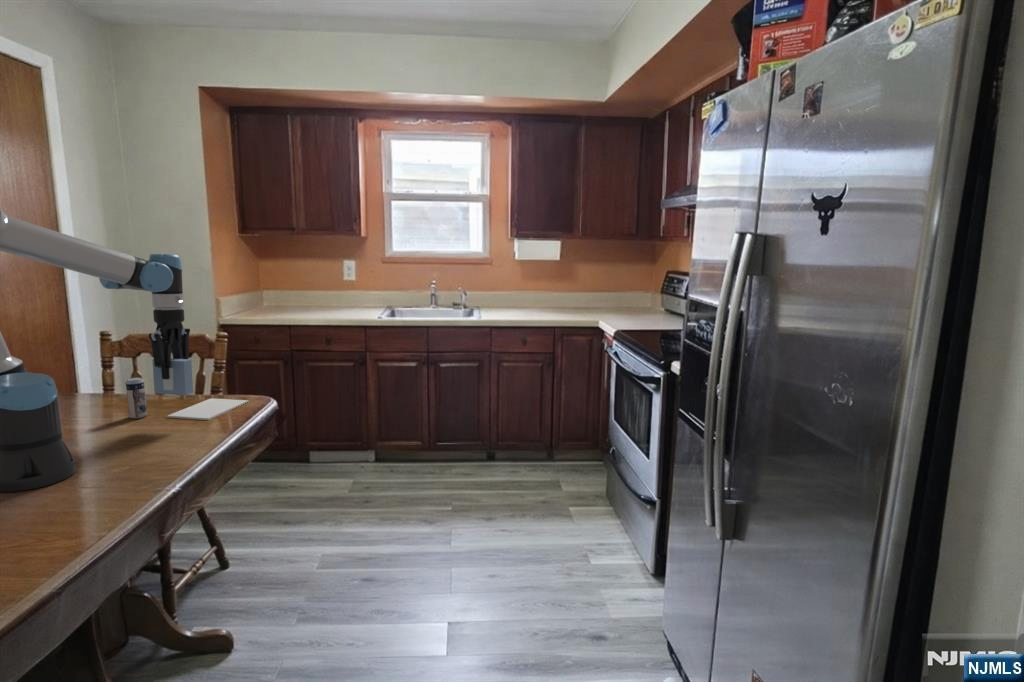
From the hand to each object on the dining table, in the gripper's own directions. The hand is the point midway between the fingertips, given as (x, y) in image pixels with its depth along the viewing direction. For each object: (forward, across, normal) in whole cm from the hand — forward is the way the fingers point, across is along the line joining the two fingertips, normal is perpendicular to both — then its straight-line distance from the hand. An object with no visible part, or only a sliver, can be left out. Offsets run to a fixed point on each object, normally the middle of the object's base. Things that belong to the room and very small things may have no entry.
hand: (173, 388), depth 161 cm
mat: (+11, +16, +1) cm, 19 cm away
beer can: (+11, +5, +17) cm, 21 cm away
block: (+1, 0, 0) cm, 1 cm away
